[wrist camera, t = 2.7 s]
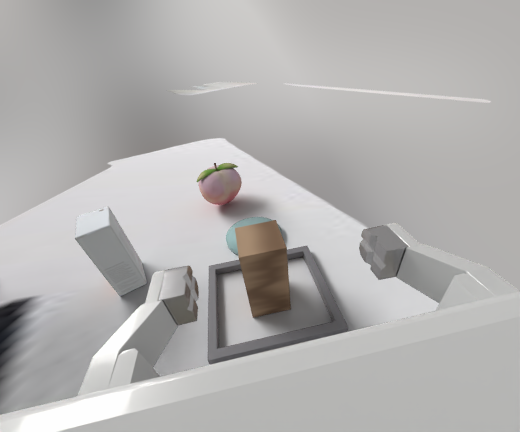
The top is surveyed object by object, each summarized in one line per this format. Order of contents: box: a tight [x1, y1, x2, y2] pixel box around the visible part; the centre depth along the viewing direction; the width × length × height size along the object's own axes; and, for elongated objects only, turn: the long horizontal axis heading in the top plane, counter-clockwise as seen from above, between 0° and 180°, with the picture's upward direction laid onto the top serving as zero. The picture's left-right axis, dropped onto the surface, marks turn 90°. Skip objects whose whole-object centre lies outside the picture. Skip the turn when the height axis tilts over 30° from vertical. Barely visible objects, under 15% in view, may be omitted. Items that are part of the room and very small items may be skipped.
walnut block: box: [235, 220, 291, 318], centre depth 29 cm, size 5×5×11 cm
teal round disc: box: [226, 217, 281, 255], centre depth 43 cm, size 10×10×1 cm
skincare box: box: [75, 206, 147, 296], centre depth 35 cm, size 6×4×12 cm
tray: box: [208, 246, 348, 365], centre depth 32 cm, size 16×14×1 cm
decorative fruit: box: [197, 163, 241, 205], centre depth 51 cm, size 9×8×10 cm
